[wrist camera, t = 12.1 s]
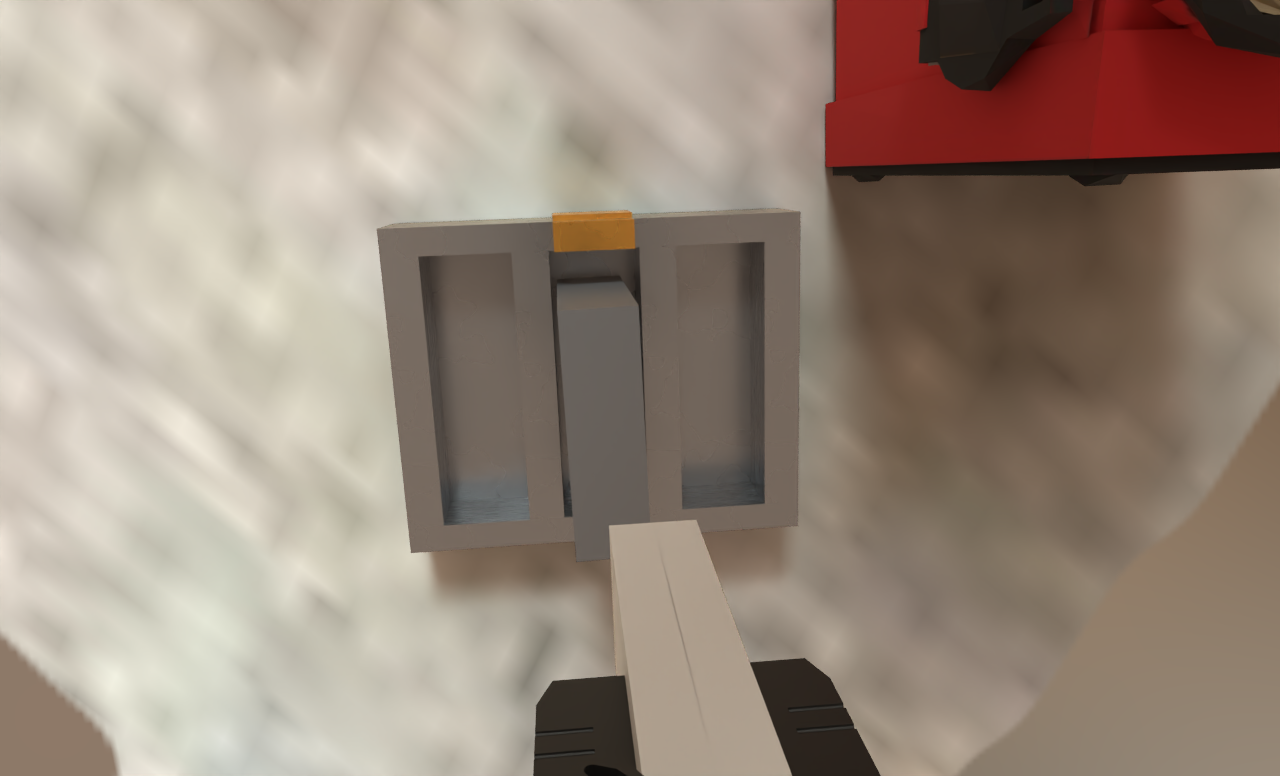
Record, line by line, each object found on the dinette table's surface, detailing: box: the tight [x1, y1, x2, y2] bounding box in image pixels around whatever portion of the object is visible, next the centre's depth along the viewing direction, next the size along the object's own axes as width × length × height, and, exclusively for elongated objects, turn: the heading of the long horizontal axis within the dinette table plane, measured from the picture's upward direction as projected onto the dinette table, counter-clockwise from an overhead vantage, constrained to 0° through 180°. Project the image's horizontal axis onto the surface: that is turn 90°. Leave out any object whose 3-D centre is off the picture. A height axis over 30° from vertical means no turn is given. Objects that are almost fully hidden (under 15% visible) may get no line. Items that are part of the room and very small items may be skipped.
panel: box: [557, 275, 650, 562], centre depth 31 cm, size 8×2×8 cm, turn 3°
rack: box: [377, 208, 800, 553], centre depth 33 cm, size 12×15×4 cm
